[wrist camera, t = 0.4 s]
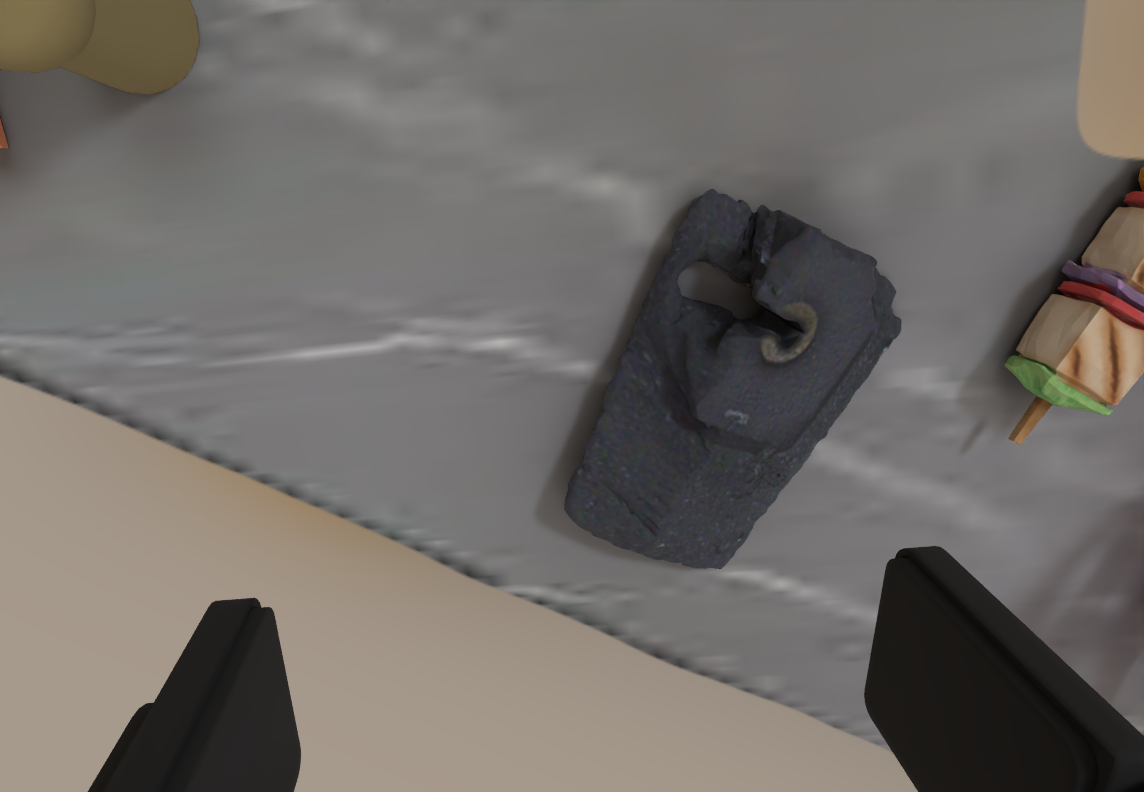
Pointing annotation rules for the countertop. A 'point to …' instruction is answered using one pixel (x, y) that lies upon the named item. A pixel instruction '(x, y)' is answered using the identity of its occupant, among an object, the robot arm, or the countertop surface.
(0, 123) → the terracotta tray
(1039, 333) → the skewer
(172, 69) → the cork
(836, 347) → the black fabric pouch
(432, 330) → the countertop surface
